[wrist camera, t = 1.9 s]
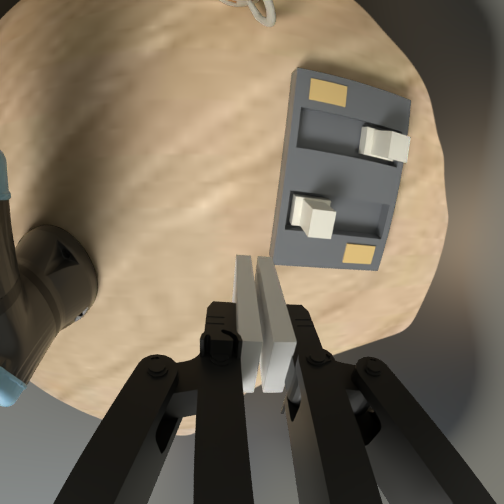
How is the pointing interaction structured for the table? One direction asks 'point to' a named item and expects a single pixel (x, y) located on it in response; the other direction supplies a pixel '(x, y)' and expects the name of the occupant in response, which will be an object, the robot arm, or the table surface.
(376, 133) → the tab
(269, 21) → the mug
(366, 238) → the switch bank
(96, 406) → the table surface
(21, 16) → the table surface
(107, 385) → the table surface
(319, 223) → the tab
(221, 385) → the robot arm
